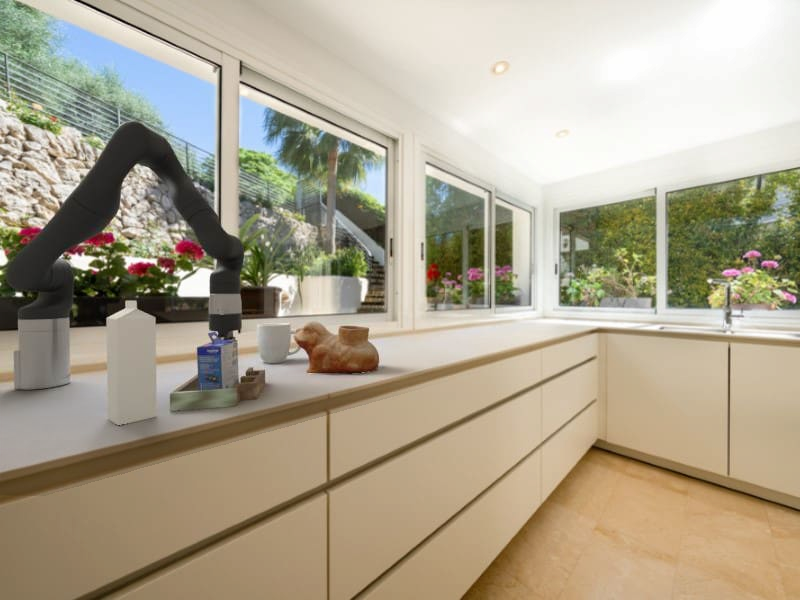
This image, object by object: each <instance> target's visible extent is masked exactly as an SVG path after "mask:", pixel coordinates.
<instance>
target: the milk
mask: <svg viewBox="0 0 800 600" xmlns="http://www.w3.org/2000/svg"><path fill="white" fill-rule="evenodd" d="M124 305H125V306H124V307H125V308H124V309H121V310H119V311H117V312H115V313H113V314H112V315H110V316H107V317H106V319H105V320H106V324H105V325H106V367H107V368H106V370H107V371H106V376H107V378H106V380H107V383H106V385H107V419H108V420H109V421H110V422H112V423H113V424H115V425H116V424H117V425H116V426H118V425H120V426H123V425H122V424H124V425H128V424H131V423H132V422H133V423H135V422H140V421H145V420H148V419H153V418H156V417H158V412H157V411H158V410H157V409H158V403H157V392H158V391H157V340H156V339H157V336H156V334H157V331H156V330H157V326H156V325H157V324H156V321H157V320H156V316H153V315H151V314H150V313H146V312H145V311H142V310H141V309H138V303H137V300H125V303H124ZM127 423H128V424H127Z"/></svg>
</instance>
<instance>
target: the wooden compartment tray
mask: <svg viewBox="0 0 800 600" xmlns="http://www.w3.org/2000/svg"><path fill="white" fill-rule="evenodd" d="M239 378H240V379H239V383H236V384H235V385H234V386H233V387H232V388H229V389H214V390H199V388H198V373H197V374H196V375H194V376H193V377H192V378H190V379H189V380H187V381H186V382H184V383H182V384H181V385H180V386H178V387H177V388H176V389H174V390H172V391H171V392H170V393H169V412H177V411H178V410H180V411H190V410H192V409H193V410H202V409H203V410H204V409H217V407H218V408H227V407H229V406H230V408H231V407H236V406H238V404H239V402H240V401H242V400H243V401H244V399H245V400H258V398H259V396H260V395H261V392H262V390H263V388H264V387H265V385H266V369H256V370H254V367H251V366H250V367H248V369H246V371H245V375H242V376H241V377H239ZM264 384H265V385H264Z"/></svg>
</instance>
